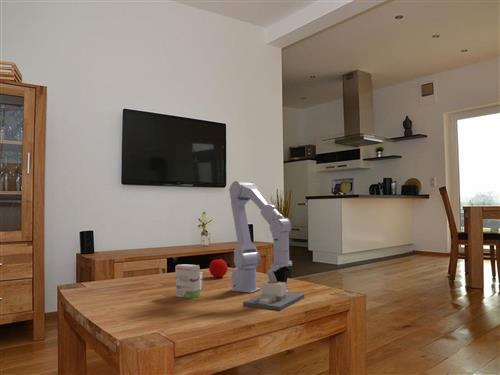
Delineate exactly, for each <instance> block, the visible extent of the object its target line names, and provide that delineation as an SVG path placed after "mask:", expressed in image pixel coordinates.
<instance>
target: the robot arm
mask: <svg viewBox="0 0 500 375" xmlns="http://www.w3.org/2000/svg"><path fill="white" fill-rule="evenodd" d="M228 191H229V196H230V197H229V198H230V206H231V209H232V210H231V211H232V217H233V222H234V228H235V234H236V240H237V246H236V247H235V248H234V250H233V255H234V256H233V263H234V265H235V267H234V268H233V269H232V274H231V291H232V292H241V293H249V294H251V293H254V292H257V291H260V290H261V287H257V268H258V265H259V264H260V263H261V255H260V254H259V251H258V248H257V246H256V245H255V244H254V243H252V239H251V234H250V228H249V222H248V218H247V213H246V211H247V210H246V204H248V203H249V202H250V201H252V202H253V203H254V204H255V206H257V208H258V209H260V215H261V216H262V218H263V219H264V220H265V221H266V223H267V224H268V225H269V226H268V227H269V231H270V233H271V238H272V241H273V242H272V243H273V245H272V246H273V247H272V248H273V263H272V264H270V265H269V268H270V269H269V270H270V271H273V273H274V275H275V277H276V280H277V281H279V282H286V283H287V282H288V278H289V275H290V272H291V271H292V270H291V268H290V267H292V266H293V261H292V260H290V243H289V242H290V241H289V240H290V239H289V238H290V237H289V236H290V232H291V230H292V228H293V225H292V222H291V220H290V218H288V217H284V216H283V214H281V213H280V212H279V210H278V209H277V208H276V205H274V204H269V203H268V202H267V201H266V199H265V198H264V197H263V195H262V193H260V192H259V190H258V186H257V185H256V184H255V182H253V181H248V182H247V181H238V180H235V181H233V182H231V185H230V187H229V188H228Z"/></svg>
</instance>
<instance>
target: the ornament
mask: <svg viewBox="0 0 500 375" xmlns="http://www.w3.org/2000/svg"><path fill="white" fill-rule="evenodd" d="M228 269H229V268H228V264H227V262H226V261H225V260H224V259H222V258H221V257H220V256H216V258H215V259H213V260H212V261H211V262H210V264H209V266H208V270H209V273H210V275H211V276H213V277H214V278H222V277H224V276H225V275H227V272H228Z"/></svg>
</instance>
